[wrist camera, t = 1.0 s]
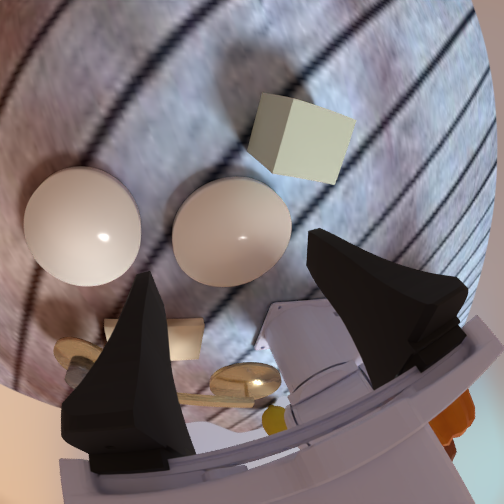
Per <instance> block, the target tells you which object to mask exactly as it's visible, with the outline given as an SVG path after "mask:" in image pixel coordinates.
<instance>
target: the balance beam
mask: <svg viewBox="0 0 504 504" xmlns="http://www.w3.org/2000/svg"><path fill="white" fill-rule="evenodd" d="M102 350H103V349H102V348H100V347H99V346H97V345H95V344H93V343H91V342H88V341H86V340H83V339H79V338H75V337H63V338H61V339H59V340H58V341H57V342H56V344H55V346H54V351H53V352H54V356H55V358H56V359H57V361H58V362H59V363H60V365H61V366H62V367H63V368H65V369H66V370H67V373H66V376H65V381H66V383H67V384H68V385H69V386H71V387H72V388H74V389H75V388H76V387H77V386H78V385H79V384H80V382H81V381H82V380H83V378H84V377H85V376H86V374H87V373H88V372H89V370H90V369H91V367H92V366H93V364H94V363H95V361H96V360H97V358H98V357H99V355H100V354H101V352H102ZM280 385H281V376H280V373H279V371H278V370H277V369H276V368H274V367H273V366H270V365H268V364H264V363H257V362H243V363H236V364H232V365H228V366H225V367H223V368H221V369H219V370H217V371H216V372H215V373H214V374H213V375H212V376H211V378H210V390H211V391H212V393H213V394H214V395H216V396H212V395H198V394H187V393H178V392H177V396H178V400H179V403H180V404H187V405H198V406H213V407H240V408H252V407H253V405H254V400H256V399H260V398H263V397H266V396H268V395H270V394H272V393H273V392H275V391H276V390H277V389H278V388H279V387H280Z"/></svg>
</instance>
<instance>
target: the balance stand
mask: <svg viewBox="0 0 504 504" xmlns="http://www.w3.org/2000/svg"><path fill="white" fill-rule="evenodd" d="M117 321H118V319H104V329H105V334H106V339H107V341H108V340H109V338H110V336H111V334H112V332H113V330H114V328H115V326H116V323H117ZM167 325H168V337H169V349H170V359H171V361H174V360H192V359H199V354H200V348H201V343H202V337H203V332H204V326H205V325H204V321H203V318H187V319H167Z"/></svg>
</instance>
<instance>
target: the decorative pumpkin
mask: <svg viewBox="0 0 504 504" xmlns="http://www.w3.org/2000/svg"><path fill="white" fill-rule="evenodd" d="M474 419H475V406H474V403H473V401H472V398H471V395H470V393H469V389H467V390H466V391H465V392H464V393H463V394H461V395H460V396H459V397H458V398H457V399H456V400H455V401H454V402H453V403H451V404H450V405H449V406H448V407H447V408H446V409H444V410H443V411H442V412H441V413H439V414H438V415H437V416H436V417H434V418H433V419H432V420H431V421H429V422H428V423H429V425H430V426H431V428H432V430H433V431H434V433H435V434H436V436H437V438H438V439H439V441H440V443H441V444H442V446H443V447H444V449H445V451H446V453H447V454H448V456H449V458H450V459H451V461H453V459H454V457H455V455H456V452H457V451H456V448H455V444H454V441H453V438H455V437H460V436H461V435H462V434H463V433H464V432H465V431H466V429H467V428H468V427H470V426H471V424H472V422H473V421H474Z"/></svg>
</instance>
